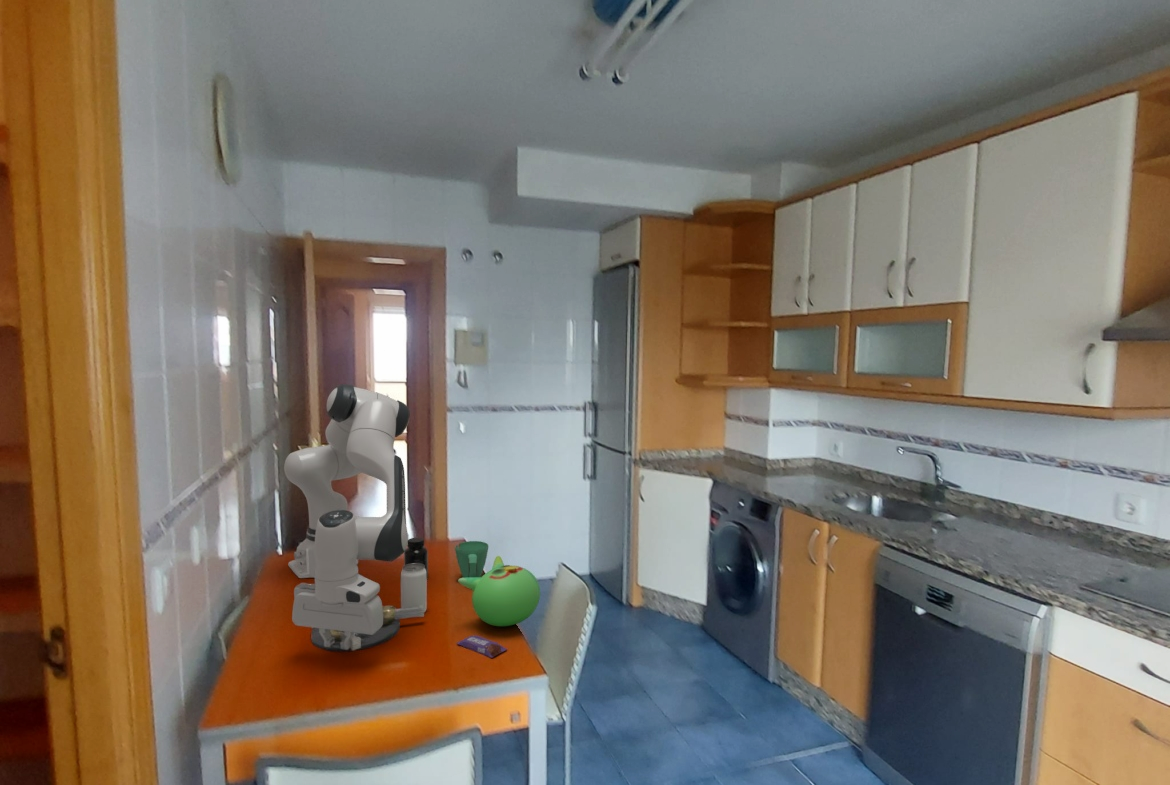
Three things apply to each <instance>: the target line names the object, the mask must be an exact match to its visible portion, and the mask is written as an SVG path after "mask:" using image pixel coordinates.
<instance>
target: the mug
mask: <svg viewBox="0 0 1170 785" xmlns="http://www.w3.org/2000/svg"><path fill="white" fill-rule="evenodd" d="M454 550H455V557H456V559H457V564H458V567H459V571H460V573H461V576H462V578H466V577H482V574H483V571H484V569H485V568H484V567H485V565H486V562H487V561H486V560H487V558H488V551H489V544H488V543H486V542H484V541H479V540H478V541H477V540H470V541H469V540H468V541H463V542H460V543H459V544H456V545H455V546H454Z"/></svg>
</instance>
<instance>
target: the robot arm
mask: <svg viewBox="0 0 1170 785" xmlns="http://www.w3.org/2000/svg"><path fill="white" fill-rule="evenodd" d="M326 414H327V415H328V417H329V418H330V421H329V423H328V425H327V426H326V428H325V434H324V435H325V439H326V441H327V444H326V445H320V446H313V447H312V446H311V447H305V448H301V449H298V450H296V451H293V452H291V453H289V454H288V455H287V456H286V458H285V461H284V464H283V466H284V467H283V471H284V474H285V477H286V479H287V480H288V481H289V482H290V483H292V484H293V485H295V486H296V487H298V488H299V489H300V490H301V491H302V493H303V495H304V497H305V499H306V503H307V508H308V509H307V510H308V523H309V524H308V525H307V526H306V536H305V539H304V540H303V541H302V542H301V543H300V544H298V545H297V547H296V551H294V553H293V557H294V559H293V560H290V561H289V562H288V567H289V568H290V570H291V571H292V573H294V574H295V575H296V577H297V578H299V579H307V578H314V583H307V582H301V583H299V584H297V585H296V586H295V587H294V589H293V597H294V600H293V605H292V614H291V615H292V616H291V619H292V620H291V621H292V623H293V624H294V625H295V626H298V627H306V628H312V629H313V628H319V633H320V635H321V636H322V638H323V640H324V647H328V648H331V647H332V646H334V644H335V641H334V640H335V637H332V636H331V634H330V632H329V630H337V631H345V636H347V637H346V638H345V639H344V640H343V641H341V642H340V645H341V647H340V648H341V649H344V650H348V649H349V648H350V647H351V639H352V637H353V636H354V634H355V633H362V634H370V635H373V634H374V633H376V632H377V631H378V630H379V629H380V628H381V627H382V625H383V608H382V607H383V602H382V600H381V597H380V596H379V595H377V594H378V593H380V591H381V590H380V589H381V587H380V586H381V585H380V584H379V583H378V582H375V581H373V580H371V579H369V578H367V577H365V576H363V575H362V574H359V567H358V564H359V560H366V561H367V560H369V561H370V560H374V561H375V560H376V561H380V562H382V561H383V562H390V563H391V562H393V561H395V560H397V559H398V558H399V557H401V556H402V555H403V554H404V552H405V550H406V549H407V548H408V540H409V534H408V527H407V517H406V515H407V512H406V481H405V480H406V479H405V478H406V477H405V468H404V463H403V461H402V458H401V457H400V456H398V455H397V454H396V453H395V451H394V449H395V448H394V445H395V440H396V439H395V438H397V437H399V436H401V435H403V433H404V432H405V430H406V428H407V427H408V425H409V422H410V416H411V411H410V409H409V406H408V405H407V404H405V403H404V402H402V401H400V400H398V399H397V400H396V399H394V398H391V397H390V396H387V395H384V394H383V393H380V392H375V391H372V390H369V389H366V388H362V387H357V386H354V385H353V384H347V383H345V384H344V383H341V384H339V385H337V386H335V387H334V389H333V390H332V391H330V393H329V395H328V397H327V401H326ZM362 473H363V474H364V475H366V476H369V477H371V478H375V479H377V480H379V481H381V482H383V484H385V485H386V513H385V514H384V515H382V516H377V517H376V516H355V514H354V513H353V512H352V511H350V510H348V506H349V505H348V500H347V498H346V497H345V496H344V495H343V494H341V493H339V492H337V491H334V489H333V487H332V481H337V480H344V479H348V478H349V479H350V478H352V477H355V476H357V475H360V474H362Z"/></svg>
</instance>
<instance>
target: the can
mask: <svg viewBox="0 0 1170 785" xmlns="http://www.w3.org/2000/svg"><path fill="white" fill-rule="evenodd" d="M424 567H425V565H424V564H420V563H412V564H407V565H405V566H404V565H403V566H402V570H401V573H400V609H401V608H409V607H418V606H420V605H424V613H425V612H426V611H427V608H428V606H427V605H428V604H427V603H428V602H427V601H428V600H427V598H428V597H427V596H428V595H427V592H428V591H427V585H428V584H427V583H428V582H427V581H428V580H427V579H428V578H427V579H426V570H425V568H424Z"/></svg>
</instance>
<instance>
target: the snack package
mask: <svg viewBox="0 0 1170 785" xmlns="http://www.w3.org/2000/svg"><path fill="white" fill-rule="evenodd" d="M456 645H459V646H461V647H463V648H466V649H468V650H471V651H473V652H475V653H478V654H481V655H483V656H485V657H489V658H494V657H496V656H498V655H500V654H502V653H503V652H505V651H507V650H508V649H507V648H506V647H504V646H502V645H501V644H500V643H498V642H495V641H492V640H489V639H488V638H484V637H482V636H480V635H470V636H467V637H466V638H464V639H461V640H460V641H458V642H456Z"/></svg>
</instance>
